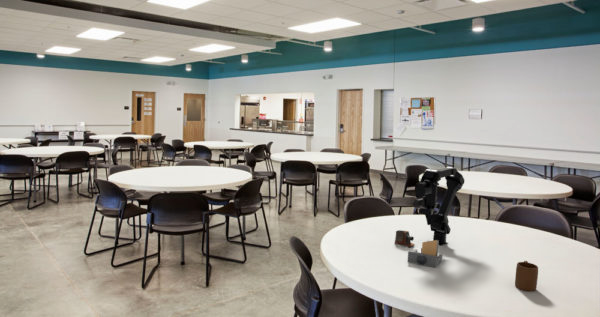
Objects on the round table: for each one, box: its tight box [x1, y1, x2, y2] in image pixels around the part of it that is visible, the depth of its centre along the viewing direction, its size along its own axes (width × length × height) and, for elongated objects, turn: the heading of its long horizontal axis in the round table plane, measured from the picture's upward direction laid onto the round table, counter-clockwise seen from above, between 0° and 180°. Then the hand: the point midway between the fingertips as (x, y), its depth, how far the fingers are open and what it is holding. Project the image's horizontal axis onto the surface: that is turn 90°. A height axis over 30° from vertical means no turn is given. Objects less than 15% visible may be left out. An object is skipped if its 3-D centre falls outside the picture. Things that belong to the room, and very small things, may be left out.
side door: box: [420, 240, 439, 257], centre depth 189 cm, size 2×9×9 cm, turn 117°
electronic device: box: [394, 229, 416, 249], centre depth 211 cm, size 4×10×8 cm, turn 44°
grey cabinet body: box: [407, 248, 443, 269], centre depth 188 cm, size 12×13×5 cm
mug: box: [514, 260, 539, 292], centre depth 164 cm, size 12×8×9 cm, turn 156°
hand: (428, 224), depth 207 cm, fingers closed
